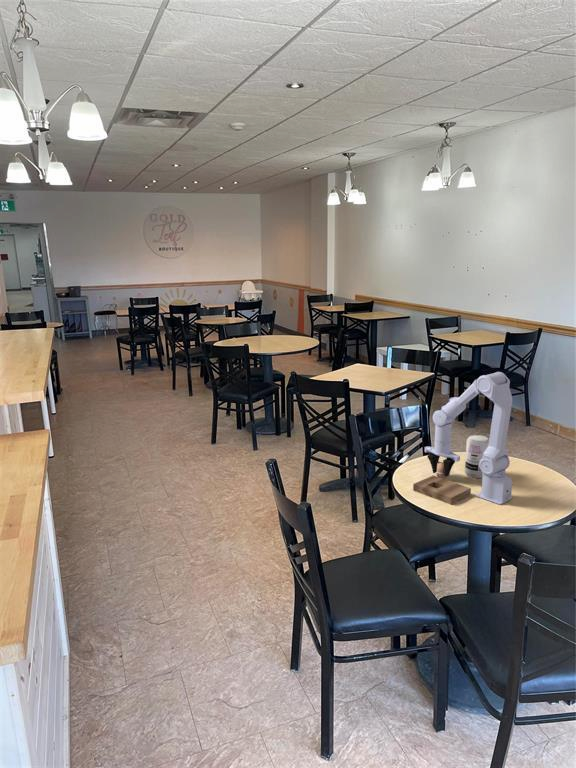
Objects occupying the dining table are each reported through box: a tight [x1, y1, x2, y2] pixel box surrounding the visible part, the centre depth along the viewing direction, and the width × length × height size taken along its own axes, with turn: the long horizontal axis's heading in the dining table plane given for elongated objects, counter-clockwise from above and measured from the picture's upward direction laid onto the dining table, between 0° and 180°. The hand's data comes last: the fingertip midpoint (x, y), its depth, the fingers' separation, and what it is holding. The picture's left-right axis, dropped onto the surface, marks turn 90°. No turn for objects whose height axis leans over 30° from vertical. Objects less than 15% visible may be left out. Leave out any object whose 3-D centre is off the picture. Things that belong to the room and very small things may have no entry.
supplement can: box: [464, 434, 489, 479], centre depth 212 cm, size 8×8×15 cm
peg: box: [436, 461, 446, 479], centre depth 210 cm, size 3×3×6 cm
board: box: [412, 475, 472, 505], centre depth 198 cm, size 16×12×2 cm
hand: (440, 474), depth 211 cm, fingers open, 5 cm apart
